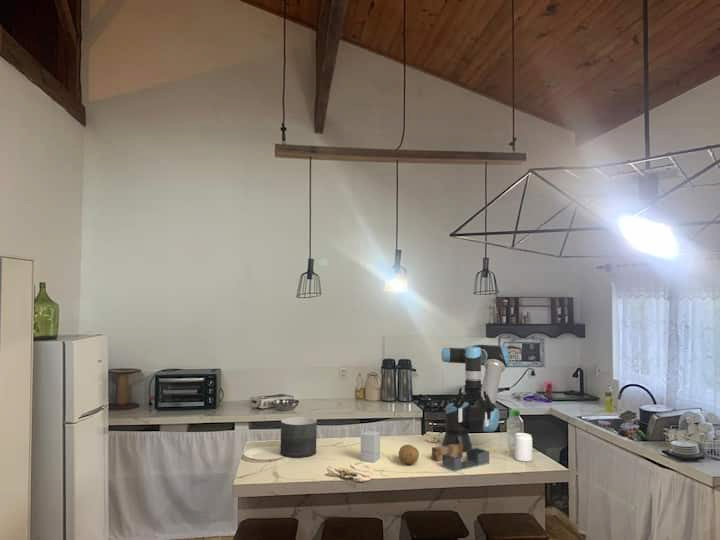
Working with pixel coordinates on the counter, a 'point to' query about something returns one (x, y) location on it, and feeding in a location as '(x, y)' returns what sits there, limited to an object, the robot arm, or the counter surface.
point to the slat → (447, 451)
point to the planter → (298, 437)
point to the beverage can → (523, 447)
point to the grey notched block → (472, 460)
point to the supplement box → (370, 446)
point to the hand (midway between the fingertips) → (473, 423)
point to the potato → (408, 454)
